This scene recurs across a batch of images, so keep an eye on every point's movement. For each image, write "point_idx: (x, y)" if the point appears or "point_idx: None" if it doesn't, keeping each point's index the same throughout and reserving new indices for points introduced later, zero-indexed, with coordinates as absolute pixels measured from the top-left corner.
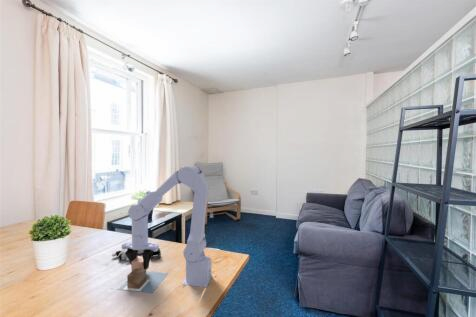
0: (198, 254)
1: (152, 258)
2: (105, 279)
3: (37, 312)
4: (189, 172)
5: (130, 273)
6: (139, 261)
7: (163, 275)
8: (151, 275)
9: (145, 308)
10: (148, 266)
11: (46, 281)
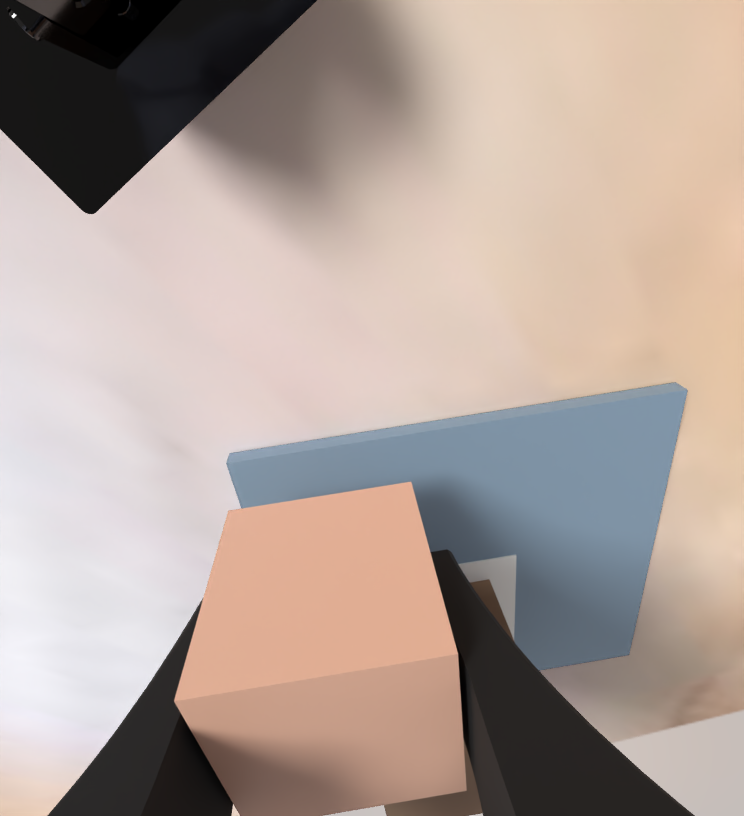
0: None
1: (116, 13)
2: (13, 650)
3: None
4: None
5: (397, 807)
6: (392, 790)
7: (639, 448)
8: (484, 490)
9: (631, 720)
10: (452, 556)
11: None
